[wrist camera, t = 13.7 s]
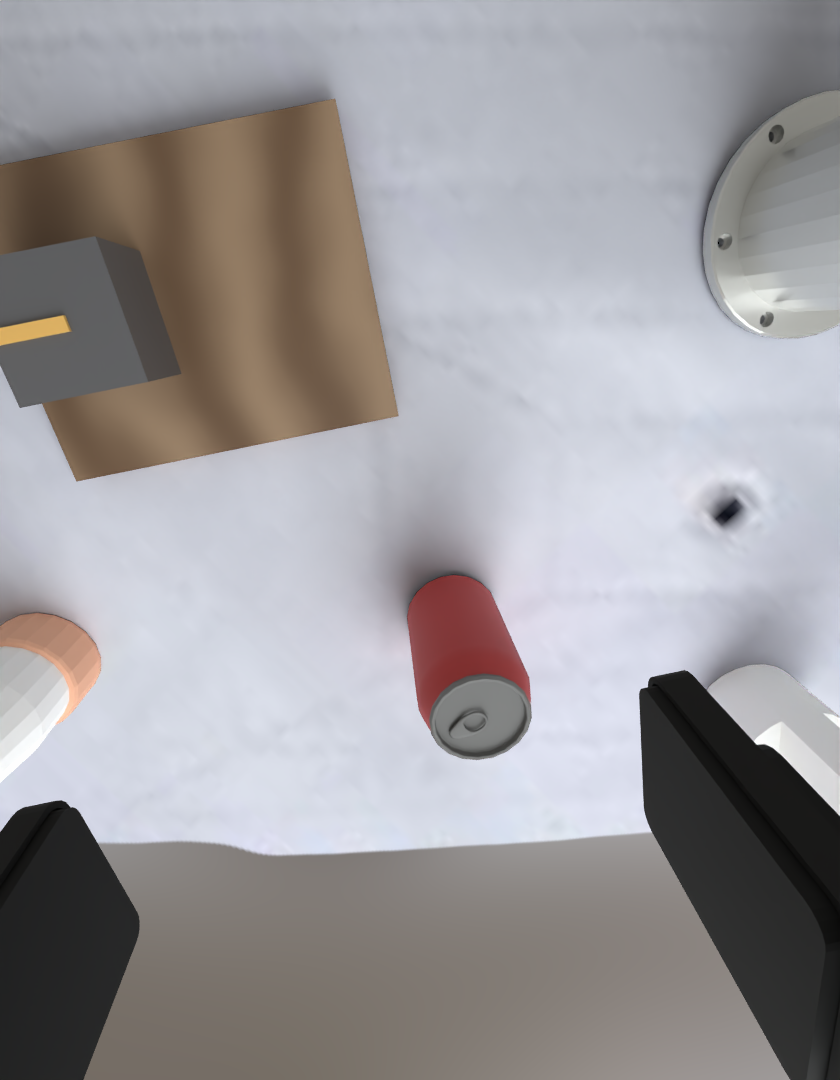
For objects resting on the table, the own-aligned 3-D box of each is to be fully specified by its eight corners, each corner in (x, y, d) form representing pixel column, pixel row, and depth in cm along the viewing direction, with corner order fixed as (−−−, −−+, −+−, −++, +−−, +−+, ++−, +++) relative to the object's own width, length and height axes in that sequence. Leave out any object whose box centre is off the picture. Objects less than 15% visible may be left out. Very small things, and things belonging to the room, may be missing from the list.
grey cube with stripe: (139, 251, 29) (93, 235, 24) (181, 373, 31) (146, 382, 26) (21, 274, 29) (-50, 263, 24) (72, 395, 31) (17, 408, 26)
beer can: (388, 603, 39) (395, 711, 28) (464, 554, 39) (502, 646, 27) (438, 664, 42) (462, 787, 31) (511, 619, 41) (563, 729, 30)
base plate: (336, 109, 29) (335, 98, 27) (397, 412, 35) (398, 416, 33) (-38, 183, 28) (-59, 176, 27) (88, 475, 34) (76, 481, 33)
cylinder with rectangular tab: (792, 740, 48) (920, 866, 37) (692, 759, 48) (790, 891, 36) (802, 654, 44) (946, 764, 33) (694, 675, 44) (803, 792, 33)
